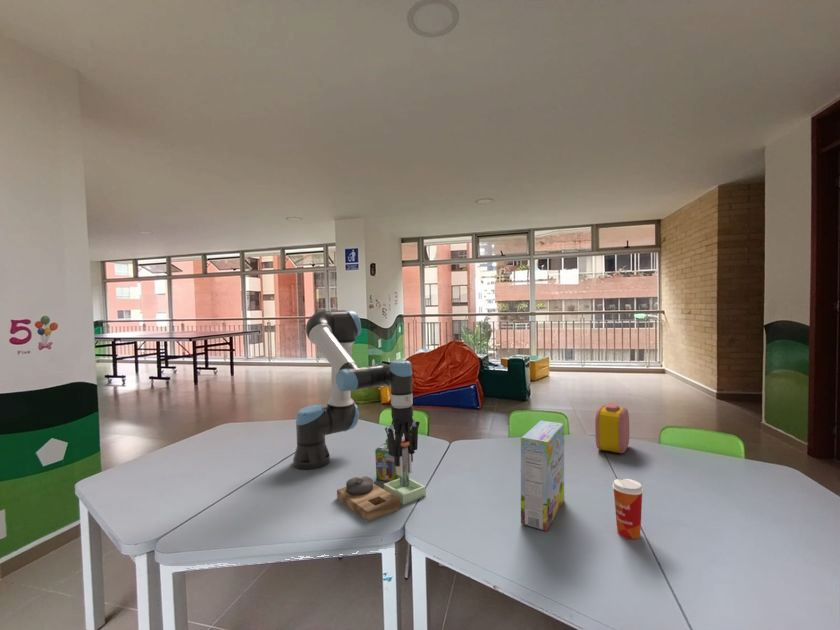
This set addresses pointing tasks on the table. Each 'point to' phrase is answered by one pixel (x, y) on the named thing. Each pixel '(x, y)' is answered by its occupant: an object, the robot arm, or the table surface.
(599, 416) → the pink and yellow case
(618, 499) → the paper cup
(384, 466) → the chalk box
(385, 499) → the block
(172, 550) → the table surface
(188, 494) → the table surface
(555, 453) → the snack box
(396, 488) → the tray
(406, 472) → the lock pin
